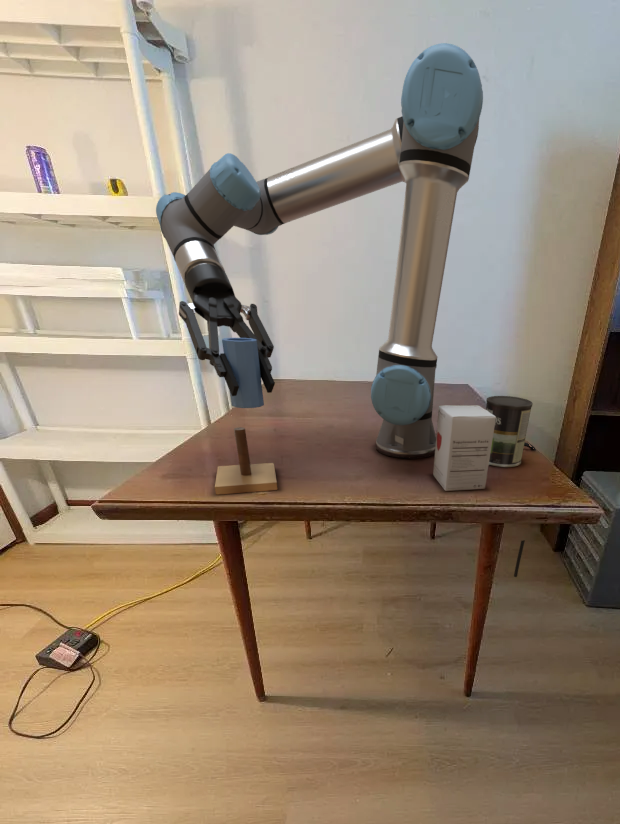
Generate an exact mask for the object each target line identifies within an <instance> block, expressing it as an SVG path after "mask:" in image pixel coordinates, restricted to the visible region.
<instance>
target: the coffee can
mask: <svg viewBox="0 0 620 824" xmlns="http://www.w3.org/2000/svg"><path fill="white" fill-rule="evenodd" d="M533 405H534V403H533V402H532V400H529V399H527V398H523V397H518V396H510V395H492V396H488V397H487V398H486V406H485V410H487V411H488V412H490V413H491V414H493V415H494V416H496V420H495V427H494V433H493V440H492V446H491V453H490V459H489V466H492V467H497V468H515V467H517V466H520V465H521V464H522V459H523V452H524V448H525V446H524V443H526V438H527V437H526V436H527V433H528V428H529V427H528V426H529V422H530V416H531V411H532V408H533Z"/></svg>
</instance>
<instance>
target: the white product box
mask: <svg viewBox="0 0 620 824" xmlns="http://www.w3.org/2000/svg"><path fill="white" fill-rule="evenodd" d="M437 410H438V412H437V421H436V422H437V424H436V433H435V436H436V447H435V454H434V459H433V472H432V473H433V474H432V476H433V477H434V479H436V481H437V482H438V483H439V485H440V486H441V488H442V489H443V490H444V491H445V492H449V491H451V492H453V491H469V490H471V491H472V490H485V489H486V484H487V479H488V471H489V466H490V465H489V459H490V453H491V446H492V440H493V433H494V427H495V420H496V416H494V415H493V414H491V413H490V412H488V411H487V410H486V408H483V407H482V406H480V405H479V404H475V405H474V404H473V405H453V404H452V405H449V404H448V405H447V404H445V405H444V404H443V405H438V409H437Z"/></svg>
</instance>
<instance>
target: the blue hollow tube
mask: <svg viewBox="0 0 620 824" xmlns="http://www.w3.org/2000/svg"><path fill="white" fill-rule="evenodd" d="M221 343H222V350H223V353H225V355H226V357H227V360H228V362H229V364H230V367H231V369H232V371H233V374H234V376H235V378H236V381H237V383H238V385H239V388H238V392H237V395H236V396H232V395H231V393H230V392H229V396H230V397H229V398H230V402H231V407H234V408H237V409H256V408H261V407H263V406H265V402H264V393H263V392H264V391H263V385H262V384H263V382H262V379H261V374H260V365H259V356H258V348H257V340H256V339H252V338H240V337H224V338H222V339H221Z"/></svg>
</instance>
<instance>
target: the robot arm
mask: <svg viewBox="0 0 620 824" xmlns="http://www.w3.org/2000/svg"><path fill="white" fill-rule="evenodd" d="M483 104H484V91H483V84H482V80H481V76H480V72H479V69H478V67H477V65H476V63H475V61H474V60H473V58H472V57H471V56H470V54H469V53H468V52H467V51H466V50H465V49H463V48H461V47H460V46H458V45H456V44H453V43H447V42H441V43H436V44H433V45H430V46H429V47H427V48H425V49H424V50H422V52H420V53H419V55H418V56H417V57H416V58H415V59H414V60H413V61H412V63H411V65H410V66H409V68H408V70H407V72H406V74H405V77H404V80H403V85H402V90H401V98H400V106H401V116H399V117H397V118H395V120H394V122H393V124H392V126H391V128H390V129H387V130H385V131H383V132H380V133H378V134H375V135H372V136H369V137H366V138H364V139H362V140H359V141H357V142H354V143H352V144H349V145H347V146H344V147H341V148H339V149H336V150H333V151H331V152H329V153H326V154H322V155H321V156H318V157H316V158H313V159H311V160H308V161H306V162H303V163H301V164H298V165H296V166H293V167H290V168H288V169H285V170H283V171H280V172H278V173H274V174H272V175H270V176H268V177H265V178H262V179H260V180H258V181H256V178H255V177H254V176H253V174H252V173H251V171H250V170H249V169H248V167H247V166H246V165H245V163H244V162H243V161H241V160H240V159H239V157H238V156H236V155H235V154H234V153H229V152H228V153H225V154H224V155H223V156H221V157H220V158H219V159H218V160H217V161H216V162H213V164H211V166H210V168H209V169H208V170H207V171H206V172H205V174H203V176H202V177H201V178H200V179H199V180H198V181H197V182H196V184H195V185H194V186H193V187H192V188H191V189H190V190H189V191H188V193H186V194H184V193H181V192H177V191H173V192H170V193H169V194H164V195H162V196H161V197H160V198H159V199H158V201H157V203H156V207H155V214H156V218H157V222H158V224H159V228H160V232H161V234H162V236H163V238H164V239H165V241H166V243H167V246H168V247H169V251H170V252H171V254H172V257H173V260H174V262H175V265H176V267H177V269H178V272H179V274H180V276H181V279H182V281H183V283H184V286H185V289H186V291H187V293H188V295H189V298H190V300H191V302H190V303H187V302H186V301H184V300H180V301H179V302H178V303H179V307H178V315H179V317H180V319H182V321H183V322H184V323H185V325H186V328H187V331H188V334H189V337H190V339H191V343H192V344H193V345H192V346H193V348H194V350H195V353H196V356H197V358H198V360H200V361H205V360H208V361H209V365H211V366H212V367H213V368H214V370H215V372H216V375H217V376H218V377H219V378H224V381H225V383H226V385H227V388H228V390H229V394H230V393H231V395H232V396H236V395H237V392H238V388H239V385H238V383H237V381H236V378H235V376H234V374H233V371H232V369H231V367H230V364H229V362H228V360H227V357H226V355H225V353H224V352H222V353H221V352H220V343H219V327H229V328H230V330H231V331H232V332H233V333H236V334H237V336H238V338H252V339H256V340H257V348H258V356H259V365H260V374H261V382H262V384H263V385H264V388H265V390H266V393H268V394H271V393H272V392H273V390H274V388H275V385H276V383H275V380H274V378H273V375H272V371H273V366H272V363H271V361H270V358H271V357H272V354H273V352H274V349H275V345H274V344H273V342H272V340H271V338H270V335H269V334H268V332H267V330H266V327H265V326H264V323H263V322H262V320H261V318H260V315H259V313H258V306H257V304H255V303H250V304H249V306H248V305H245V304H242V302H241V301H240V300H239V299H238V298H237V297H236V294H235V291H234V289H233V286H232V283H231V281H230V280H229V277H228V275H227V273H226V270H225V268H224V266H223V264H222V262H221V261H222V260H221V259H220V257H219V255H218V253H217V250H216V247H215V244H216V243H217V242H218V241H219V240H221V239H222V238H223V237H224V236H225V235H227V233H228V232H229V231H230V230H231V229H232V228H233V227H236V228H240V229H243V230H246V231H248V232H251V233H253V234H255V235H258V236H268V235H269V236H270V235H272V234H273V233H275V232H276V231H277V230H278V229H279V227H281V226H283V225H285V224H287V223H290V222H293V221H296V220H300V219H301V218H304V217H307V216H309V215H312V214H316V213H318V212H321V211H325V210H327V209H329V208H332V207H335V206H338V205H341V204H344V203H346V202H349V201H352V200H355V199H357V198H361V197H363V196H366V195H368V194H372V193H374V192H376V191H379V190H382V189H385V188H388V187H392V186H394V185H397V184H400V183H404V184H405V192H404V200H403V209H402V215H401V226H400V235H399V244H398V251H397V259H396V267H395V275H394V276H395V278H394V286H393V295H392V301H391V303H392V304H391V311H390V321H389V326H388V327H389V329H388V338H387V340H386V341H385V342H384V343H383V344H381V345H380V346H379V348H378V355H377V364H376V373H375V376H374V379H373V380H372V384H371V388H370V399H371V404H372V407H373V408H374V410H375V412H376V413H377V414H378V416H379V417H380V418H381V419H382V422H381V426H380V428H379V431H378V434H377V438H376V440H375V441H376V442H375V444H376V446H375V447H376V450H377V452H379V453H381V454H382V455H385V456H388V457H391V458H397V459H410V460H411V459H413V460H414V459H423V458H428V457H431V456H434V455H435V447H436V431H435V427H434V423H433V407H434V395H435V384H436V383H435V382H436V370H437V366H438V365H437V364H438V358H439V357H438V354H436V351H435V350H434V349H433V341H434V334H435V329H436V322H437V316H438V311H439V305H440V300H441V299H440V298H441V292H442V287H443V281H444V275H445V269H446V264H447V263H446V262H447V256H448V251H449V244H450V240H451V239H450V238H451V233H452V226H453V220H454V214H455V210H456V209H455V207H456V203H457V196H458V192H459V190H460V189H462V187H463V186H465V185H466V184H467V183H468V182H469V181H470V180H469V179H470V176H471V175H470V173H471V168H472V163H473V158H474V152H475V147H476V143H477V140H478V137H479V128H480V117H481V115H482V109H483ZM196 314H197V315H198V316H199V317H201V318H202V319H204V320H205V321H206V325H207V327H206V328H207V333H208V334H207V335H208V336H207V337H208V347H207V345H206V341H205V339H204V337H203V333H202V330H201V328H200V326H199V325H200V324H199V322H198V319H197V316H196ZM242 314H243V316H244V318H245V320H246V321H248V325H249V326H248V325H247V323H246V322H245V321H244V318H243V316H242ZM528 443H529V442H525V443H524V447H526V448H529V449H530V451H534V452H536V451H537V449H536V447H535V446H534V445H533V444H531V443H529V444H530V445H531V446H532V447H530V446H529V444H528ZM533 448H534V449H533ZM525 541H526V540H524V539H523V540H520V546H519V549H518V553H517V558H516V563H515V567H514V574H513V577H514V578H517V577H518V574H519V569H520V564H521V559H522V555H523V550H524V546H525Z"/></svg>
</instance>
